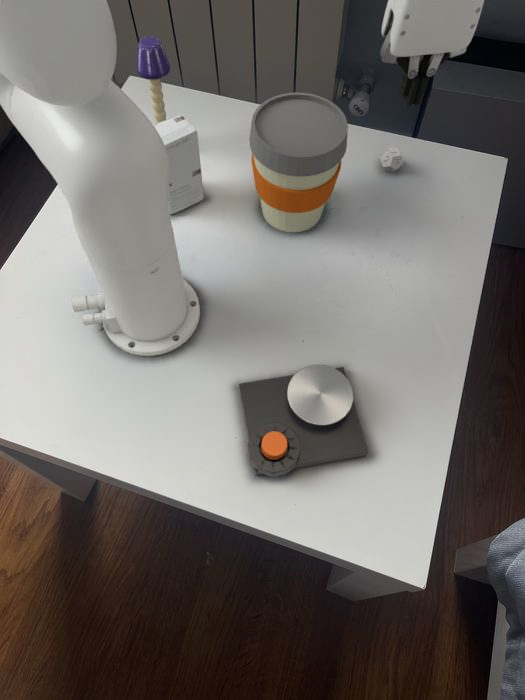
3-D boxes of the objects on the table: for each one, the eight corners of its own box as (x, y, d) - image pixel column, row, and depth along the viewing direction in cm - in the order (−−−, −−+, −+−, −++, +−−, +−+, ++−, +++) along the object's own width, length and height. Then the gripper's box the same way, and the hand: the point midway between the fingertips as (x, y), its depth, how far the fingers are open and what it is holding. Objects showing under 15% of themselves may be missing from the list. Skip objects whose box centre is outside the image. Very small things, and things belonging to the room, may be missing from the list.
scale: (253, 484, 60) (253, 476, 57) (236, 389, 66) (235, 378, 63) (368, 463, 61) (373, 455, 59) (341, 371, 67) (345, 360, 64)
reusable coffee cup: (302, 256, 76) (312, 174, 62) (232, 214, 79) (228, 129, 66) (350, 203, 81) (369, 117, 67) (282, 167, 84) (288, 78, 71)
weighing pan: (294, 431, 60) (295, 430, 59) (281, 371, 63) (281, 369, 63) (360, 420, 61) (361, 418, 60) (343, 361, 64) (343, 359, 64)
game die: (376, 159, 85) (380, 144, 83) (399, 159, 85) (404, 144, 83) (379, 175, 84) (383, 160, 81) (403, 175, 84) (408, 160, 81)
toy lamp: (152, 134, 87) (132, 31, 73) (180, 133, 87) (166, 31, 73) (151, 155, 85) (130, 53, 70) (180, 154, 85) (166, 52, 70)
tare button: (263, 462, 59) (264, 457, 57) (259, 438, 60) (259, 433, 59) (289, 457, 59) (289, 453, 57) (283, 433, 60) (284, 429, 59)
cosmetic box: (171, 216, 79) (158, 149, 68) (155, 198, 81) (140, 130, 70) (206, 198, 81) (199, 130, 70) (190, 181, 82) (181, 112, 72)
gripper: (508, -84, 57) (453, 75, 74) (373, -72, 56) (348, 86, 72) (537, -47, 54) (473, 111, 70) (394, -34, 53) (362, 124, 69)
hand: (409, 98), depth 71 cm, fingers closed
